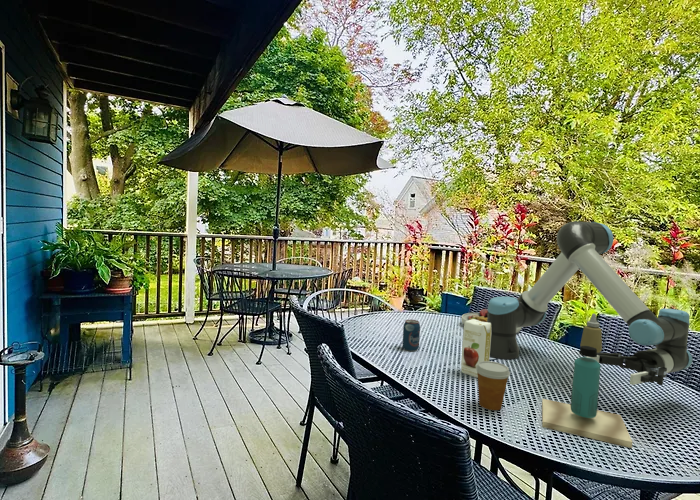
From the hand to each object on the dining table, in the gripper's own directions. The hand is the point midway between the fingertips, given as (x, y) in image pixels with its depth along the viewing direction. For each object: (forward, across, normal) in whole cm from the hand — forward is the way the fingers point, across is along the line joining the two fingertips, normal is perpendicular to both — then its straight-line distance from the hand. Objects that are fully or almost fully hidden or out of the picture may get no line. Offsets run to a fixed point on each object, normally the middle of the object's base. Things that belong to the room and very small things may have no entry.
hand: (606, 370), depth 113 cm
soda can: (+20, +69, -14) cm, 73 cm away
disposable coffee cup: (+25, +17, -14) cm, 34 cm away
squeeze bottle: (-52, +40, -14) cm, 67 cm away
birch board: (+8, 0, -14) cm, 16 cm away
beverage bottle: (+8, 0, -13) cm, 15 cm away
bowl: (-41, +87, -15) cm, 97 cm away
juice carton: (+12, +38, -14) cm, 43 cm away
